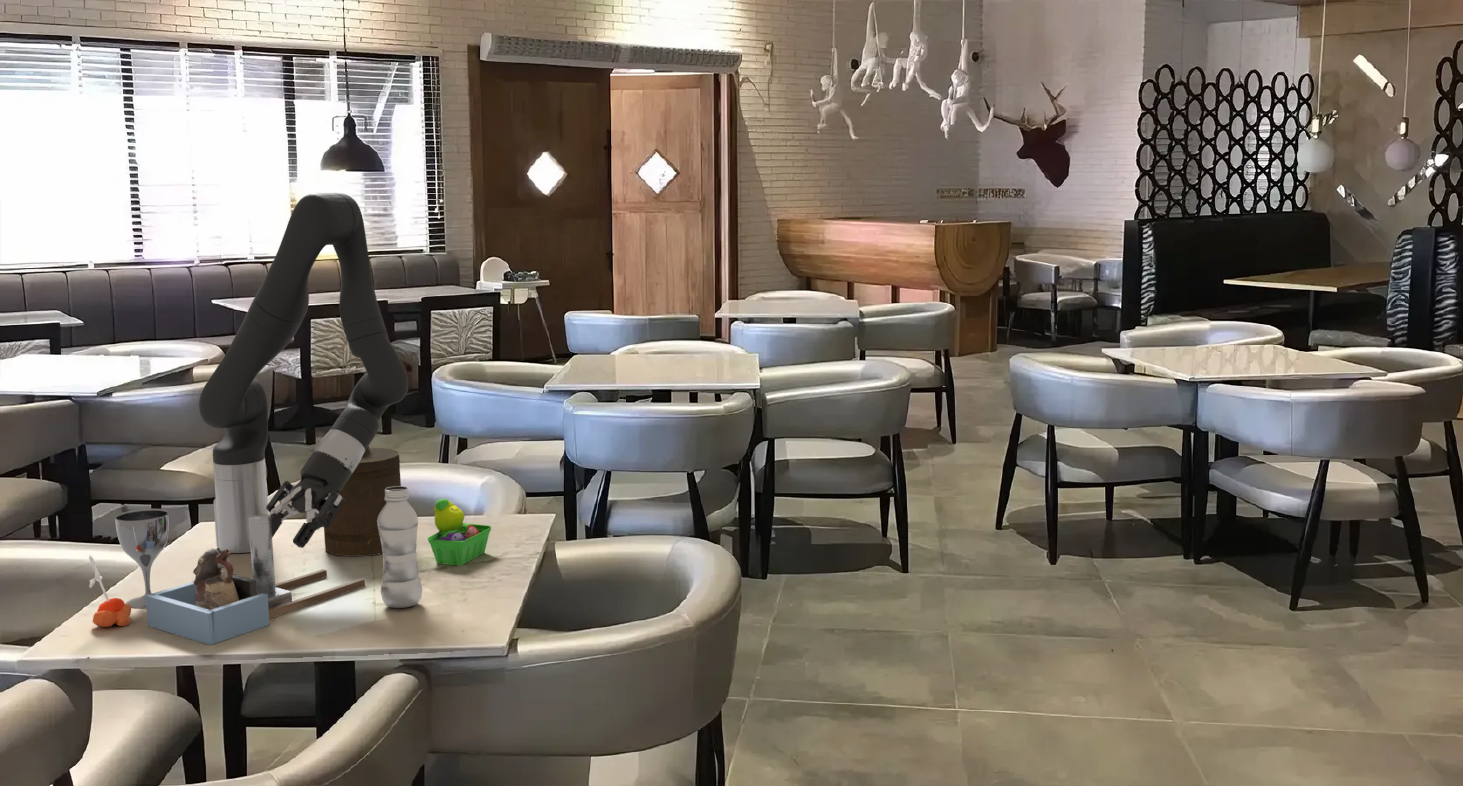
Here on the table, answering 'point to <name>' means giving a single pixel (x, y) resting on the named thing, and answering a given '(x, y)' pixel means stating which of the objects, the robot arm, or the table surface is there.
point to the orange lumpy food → (109, 606)
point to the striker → (261, 565)
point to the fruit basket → (456, 536)
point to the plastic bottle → (399, 550)
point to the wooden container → (363, 505)
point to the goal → (204, 615)
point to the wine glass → (143, 541)
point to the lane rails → (314, 597)
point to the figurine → (214, 580)
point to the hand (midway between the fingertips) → (280, 541)
